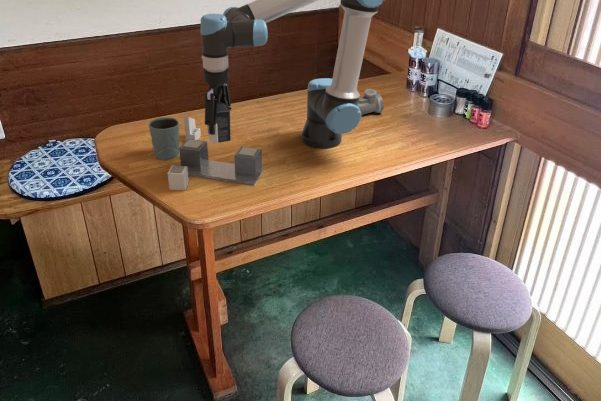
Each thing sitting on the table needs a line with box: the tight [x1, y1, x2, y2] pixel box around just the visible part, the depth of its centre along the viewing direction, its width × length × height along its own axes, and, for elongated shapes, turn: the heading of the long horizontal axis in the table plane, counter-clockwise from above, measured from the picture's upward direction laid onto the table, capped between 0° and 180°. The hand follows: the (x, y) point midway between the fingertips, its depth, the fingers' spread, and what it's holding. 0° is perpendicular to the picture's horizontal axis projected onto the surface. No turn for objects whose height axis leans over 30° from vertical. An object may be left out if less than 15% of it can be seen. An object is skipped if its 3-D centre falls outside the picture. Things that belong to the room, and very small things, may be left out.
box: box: [206, 102, 232, 144], centre depth 176 cm, size 8×6×11 cm
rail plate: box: [179, 139, 264, 186], centre depth 184 cm, size 26×10×9 cm, turn 76°
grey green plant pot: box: [147, 116, 180, 161], centre depth 193 cm, size 10×10×12 cm
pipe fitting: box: [358, 88, 385, 116], centre depth 228 cm, size 12×8×10 cm
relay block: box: [167, 165, 190, 191], centre depth 177 cm, size 5×5×6 cm
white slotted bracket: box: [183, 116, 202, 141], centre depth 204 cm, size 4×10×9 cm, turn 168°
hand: (219, 135), depth 179 cm, fingers closed on box, 9 cm apart
